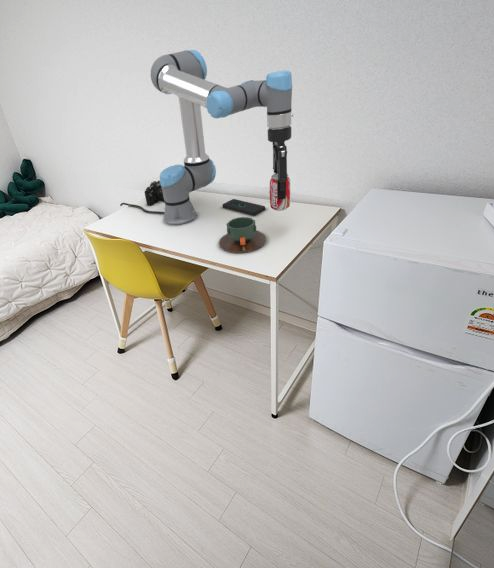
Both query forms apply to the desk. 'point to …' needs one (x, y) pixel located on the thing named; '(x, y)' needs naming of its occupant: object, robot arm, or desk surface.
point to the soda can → (274, 201)
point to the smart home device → (243, 207)
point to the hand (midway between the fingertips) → (279, 194)
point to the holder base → (249, 246)
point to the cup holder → (241, 229)
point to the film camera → (154, 193)
